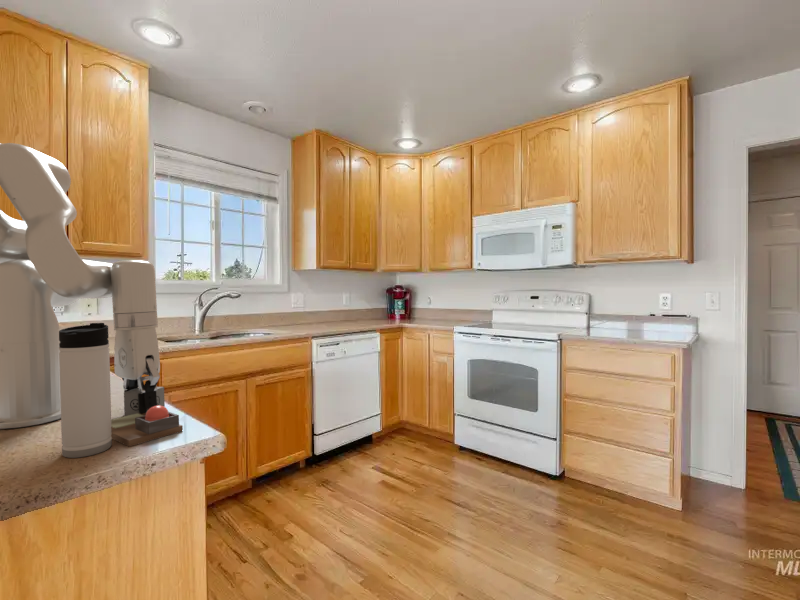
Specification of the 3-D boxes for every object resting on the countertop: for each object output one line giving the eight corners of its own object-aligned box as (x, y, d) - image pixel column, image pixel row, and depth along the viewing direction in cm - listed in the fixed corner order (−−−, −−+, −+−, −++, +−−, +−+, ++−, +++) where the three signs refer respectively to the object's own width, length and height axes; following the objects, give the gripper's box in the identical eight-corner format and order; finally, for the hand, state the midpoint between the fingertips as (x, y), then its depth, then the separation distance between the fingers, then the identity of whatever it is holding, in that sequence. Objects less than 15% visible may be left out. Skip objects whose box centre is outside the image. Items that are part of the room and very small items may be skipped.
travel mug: (122, 441, 68) (118, 322, 68) (93, 458, 61) (89, 325, 61) (83, 442, 68) (80, 323, 67) (51, 459, 61) (47, 326, 61)
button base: (92, 429, 74) (91, 413, 74) (143, 417, 81) (143, 402, 81) (129, 446, 66) (128, 428, 66) (182, 431, 73) (182, 414, 73)
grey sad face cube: (147, 417, 81) (146, 392, 81) (124, 417, 82) (123, 392, 82) (164, 410, 86) (164, 386, 86) (143, 409, 87) (142, 386, 87)
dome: (141, 428, 71) (141, 406, 71) (163, 422, 74) (162, 401, 74) (151, 431, 69) (150, 409, 69) (173, 426, 72) (172, 404, 72)
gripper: (97, 322, 85) (102, 408, 85) (134, 323, 75) (140, 421, 75) (137, 319, 91) (141, 400, 91) (176, 320, 81) (181, 410, 82)
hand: (141, 408), depth 83 cm, fingers closed on grey sad face cube, 5 cm apart
